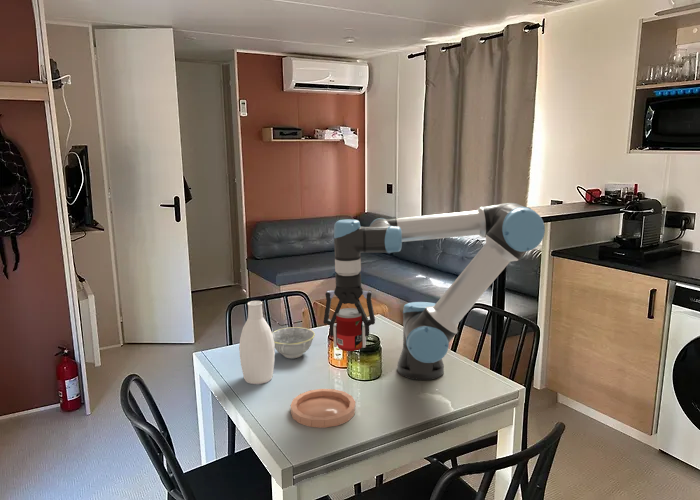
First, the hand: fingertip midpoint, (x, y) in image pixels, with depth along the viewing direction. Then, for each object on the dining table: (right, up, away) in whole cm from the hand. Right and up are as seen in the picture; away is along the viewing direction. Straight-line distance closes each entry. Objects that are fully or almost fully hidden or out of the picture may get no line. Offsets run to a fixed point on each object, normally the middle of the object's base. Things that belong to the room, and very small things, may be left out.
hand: (350, 345), depth 162 cm
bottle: (-29, -13, +11) cm, 34 cm away
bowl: (-20, -9, +30) cm, 37 cm away
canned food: (0, -1, 0) cm, 1 cm away
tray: (-8, -17, -10) cm, 21 cm away
